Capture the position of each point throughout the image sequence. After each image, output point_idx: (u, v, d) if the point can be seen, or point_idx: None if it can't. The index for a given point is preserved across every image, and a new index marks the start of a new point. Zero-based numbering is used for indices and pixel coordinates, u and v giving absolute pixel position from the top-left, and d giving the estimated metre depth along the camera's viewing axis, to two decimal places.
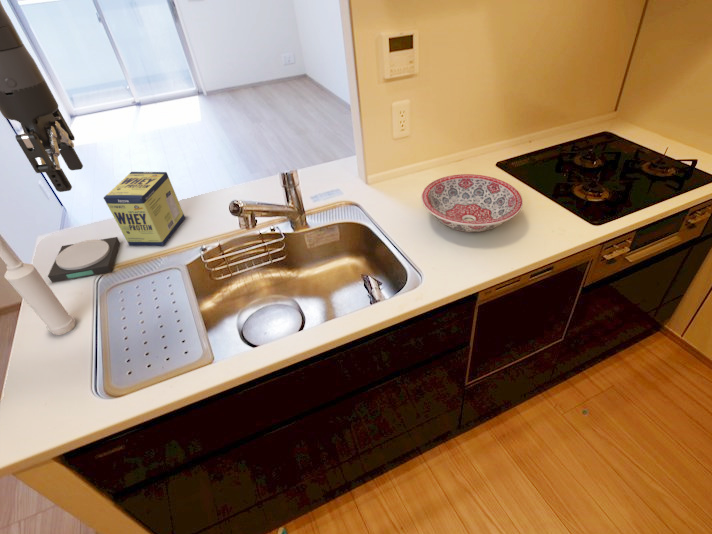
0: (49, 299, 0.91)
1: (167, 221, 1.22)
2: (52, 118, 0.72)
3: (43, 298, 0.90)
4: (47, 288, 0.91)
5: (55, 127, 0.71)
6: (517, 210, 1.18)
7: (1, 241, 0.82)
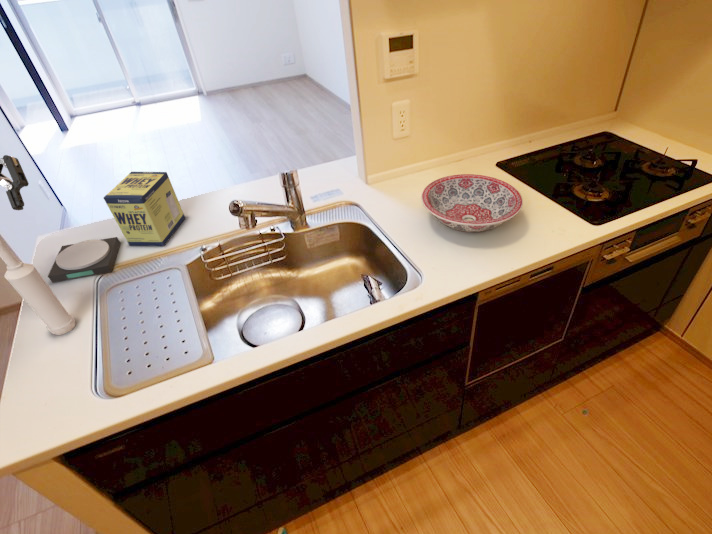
0: (49, 299, 0.91)
1: (167, 221, 1.22)
2: None
3: (43, 298, 0.90)
4: (47, 288, 0.91)
5: None
6: (517, 210, 1.18)
7: (1, 241, 0.82)
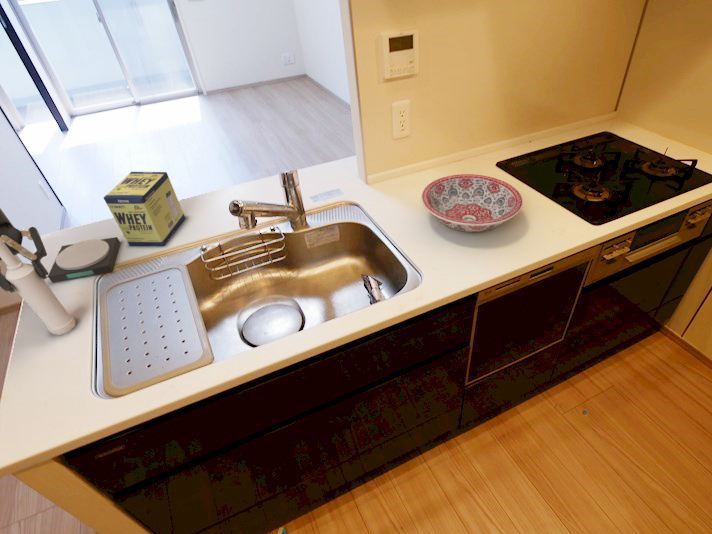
0: (49, 299, 0.91)
1: (167, 221, 1.22)
2: None
3: (42, 298, 0.90)
4: (47, 288, 0.91)
5: None
6: (517, 210, 1.18)
7: (1, 241, 0.82)
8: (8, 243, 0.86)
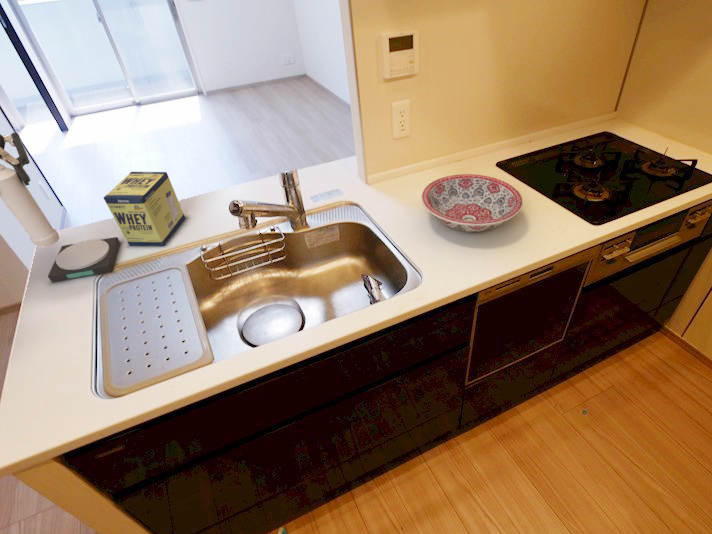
0: (32, 206, 0.92)
1: (167, 221, 1.22)
2: None
3: (25, 204, 0.91)
4: (30, 196, 0.92)
5: None
6: (517, 210, 1.18)
7: None
8: None
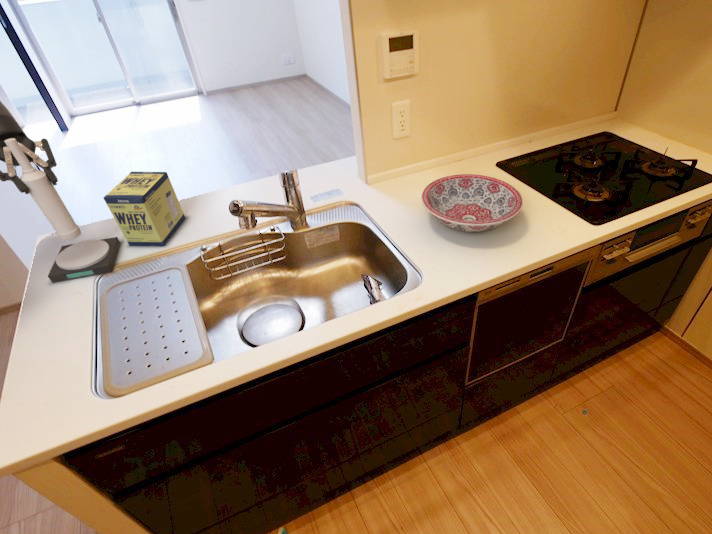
0: (58, 204, 1.04)
1: (167, 221, 1.22)
2: None
3: (53, 202, 1.02)
4: (57, 194, 1.03)
5: None
6: (517, 210, 1.18)
7: (18, 145, 0.94)
8: (24, 150, 0.98)
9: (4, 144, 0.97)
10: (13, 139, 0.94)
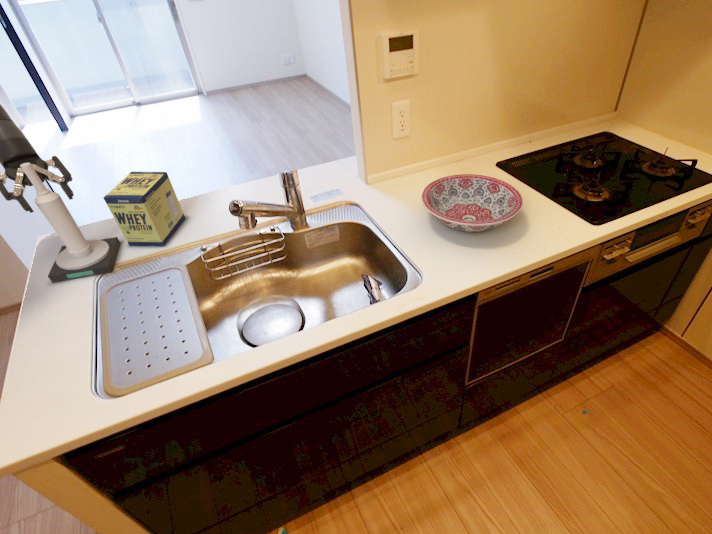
0: (71, 224, 1.07)
1: (167, 221, 1.22)
2: None
3: (65, 222, 1.06)
4: (69, 214, 1.07)
5: None
6: (517, 210, 1.18)
7: (33, 169, 0.98)
8: (38, 170, 1.02)
9: (18, 165, 1.00)
10: (28, 163, 0.97)
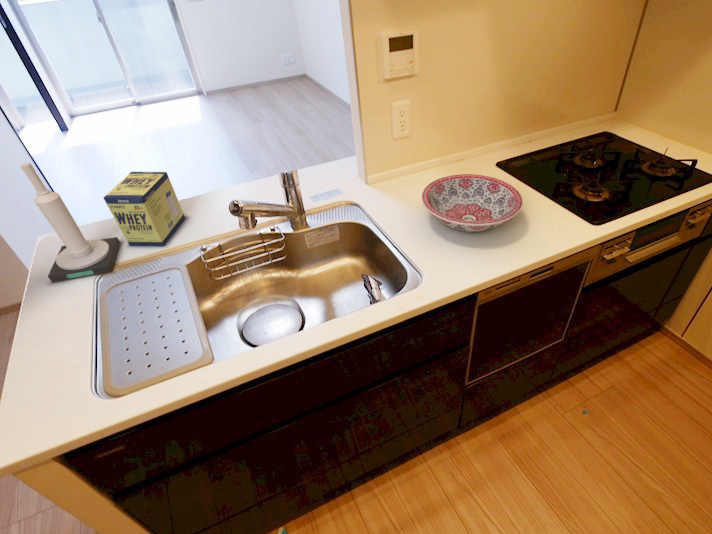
0: (71, 224, 1.07)
1: (167, 221, 1.22)
2: None
3: (65, 222, 1.06)
4: (69, 214, 1.07)
5: None
6: (517, 210, 1.18)
7: (33, 169, 0.98)
8: None
9: None
10: (28, 163, 0.97)
